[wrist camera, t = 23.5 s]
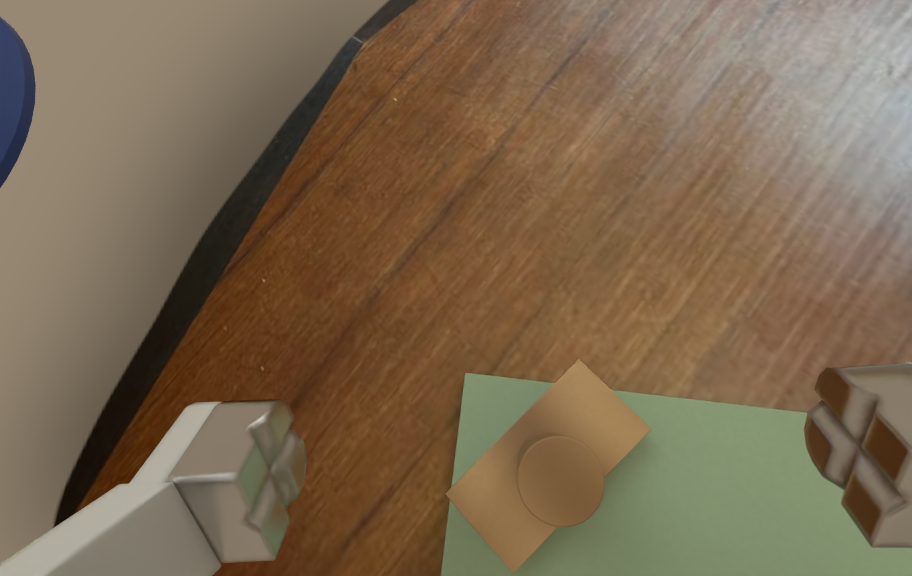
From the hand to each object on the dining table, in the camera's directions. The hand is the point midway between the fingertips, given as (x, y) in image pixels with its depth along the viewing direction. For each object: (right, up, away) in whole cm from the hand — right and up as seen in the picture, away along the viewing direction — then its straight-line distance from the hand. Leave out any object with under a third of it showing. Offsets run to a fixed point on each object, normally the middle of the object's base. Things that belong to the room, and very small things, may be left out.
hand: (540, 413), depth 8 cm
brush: (+4, -8, +21) cm, 23 cm away
